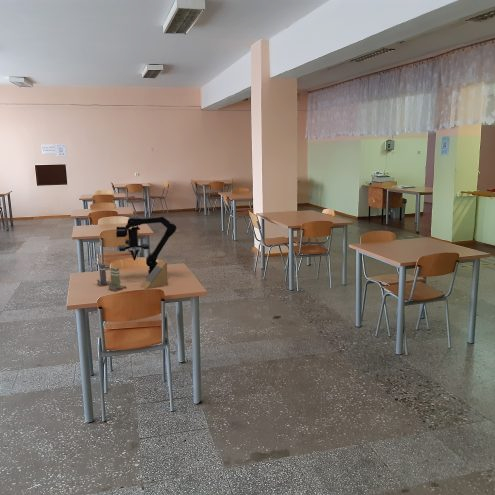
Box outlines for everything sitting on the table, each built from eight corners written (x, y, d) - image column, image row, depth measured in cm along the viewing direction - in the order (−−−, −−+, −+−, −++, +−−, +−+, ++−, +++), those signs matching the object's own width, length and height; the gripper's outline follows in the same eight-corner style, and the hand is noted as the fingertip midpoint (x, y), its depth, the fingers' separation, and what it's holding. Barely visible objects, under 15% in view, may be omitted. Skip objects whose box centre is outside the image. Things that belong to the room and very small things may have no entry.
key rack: (109, 281, 302) (108, 277, 301) (127, 288, 287) (127, 283, 286) (95, 284, 295) (95, 280, 295) (113, 291, 280) (113, 287, 280)
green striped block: (114, 286, 288) (113, 267, 285) (120, 287, 285) (119, 268, 282) (111, 287, 285) (109, 268, 283) (117, 288, 283) (115, 269, 280)
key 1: (104, 281, 298) (103, 263, 296) (106, 283, 294) (105, 264, 291) (100, 282, 297) (98, 263, 294) (102, 284, 292) (101, 265, 290)
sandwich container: (139, 286, 291) (137, 263, 288) (161, 282, 300) (160, 259, 297) (145, 289, 284) (143, 265, 281) (168, 285, 293) (166, 261, 290)
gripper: (145, 233, 315) (146, 256, 318) (116, 235, 308) (118, 258, 311) (148, 236, 305) (149, 260, 308) (118, 238, 298) (120, 262, 301)
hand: (134, 260), depth 307 cm, fingers closed
